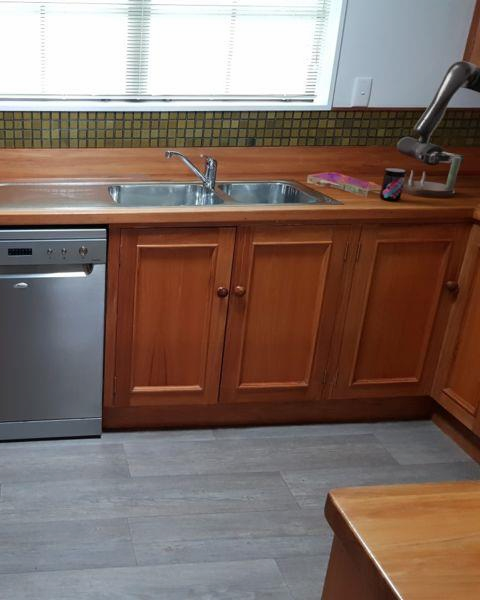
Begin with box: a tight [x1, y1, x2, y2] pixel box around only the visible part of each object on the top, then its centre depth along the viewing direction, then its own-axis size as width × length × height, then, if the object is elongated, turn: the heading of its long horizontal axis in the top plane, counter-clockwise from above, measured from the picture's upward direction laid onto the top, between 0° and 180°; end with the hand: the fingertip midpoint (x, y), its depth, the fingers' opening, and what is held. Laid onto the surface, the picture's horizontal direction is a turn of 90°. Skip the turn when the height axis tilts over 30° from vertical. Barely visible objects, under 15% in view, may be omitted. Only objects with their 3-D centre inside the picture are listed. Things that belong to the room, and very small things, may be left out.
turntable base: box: [402, 187, 456, 199], centre depth 226 cm, size 18×18×2 cm
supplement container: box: [379, 167, 408, 202], centre depth 213 cm, size 7×7×10 cm
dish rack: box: [403, 157, 461, 193], centre depth 223 cm, size 17×17×12 cm
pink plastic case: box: [306, 171, 382, 198], centre depth 229 cm, size 30×15×5 cm, turn 21°
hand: (449, 161), depth 223 cm, fingers open, 8 cm apart
